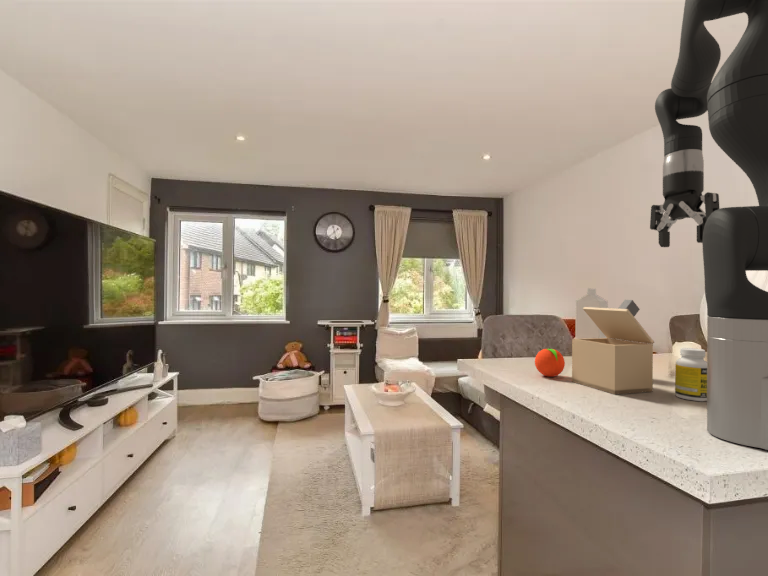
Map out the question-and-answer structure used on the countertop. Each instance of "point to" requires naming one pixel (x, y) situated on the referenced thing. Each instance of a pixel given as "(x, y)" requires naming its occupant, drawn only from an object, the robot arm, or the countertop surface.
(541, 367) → the clementine
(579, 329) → the milk
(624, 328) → the lid
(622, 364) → the carton
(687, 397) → the supplement bottle
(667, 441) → the countertop surface
